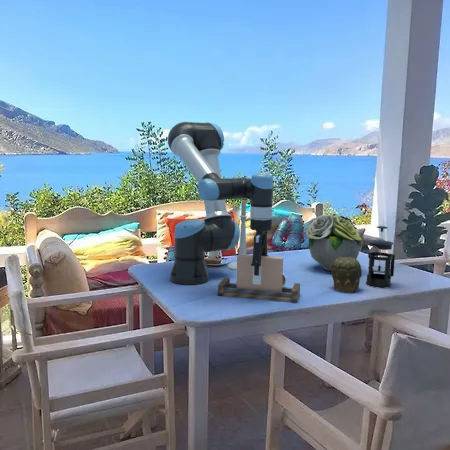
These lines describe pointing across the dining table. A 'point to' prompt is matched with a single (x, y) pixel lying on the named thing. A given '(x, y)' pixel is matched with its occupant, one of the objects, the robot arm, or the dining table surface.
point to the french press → (376, 278)
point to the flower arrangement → (332, 239)
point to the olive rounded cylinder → (346, 274)
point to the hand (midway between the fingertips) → (259, 279)
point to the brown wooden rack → (258, 292)
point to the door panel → (269, 273)
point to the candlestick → (241, 236)
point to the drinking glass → (283, 280)
